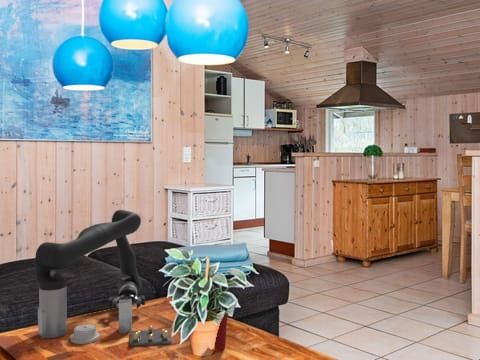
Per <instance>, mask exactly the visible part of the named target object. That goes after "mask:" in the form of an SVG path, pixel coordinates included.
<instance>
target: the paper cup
mask: <svg viewBox="0 0 480 360" xmlns="http://www.w3.org/2000/svg"><path fill="white" fill-rule="evenodd" d="M227 325H228V312H226V313H225V315H224V317H223V319H222V321H221V323H220V326H219V330H218V333H217V337H216V342H215V351H216V352H219V351H223V350H224V349H225V348H226V342H227V341H226V340H227V327H228V326H227ZM215 351H214V352H215Z"/></svg>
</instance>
